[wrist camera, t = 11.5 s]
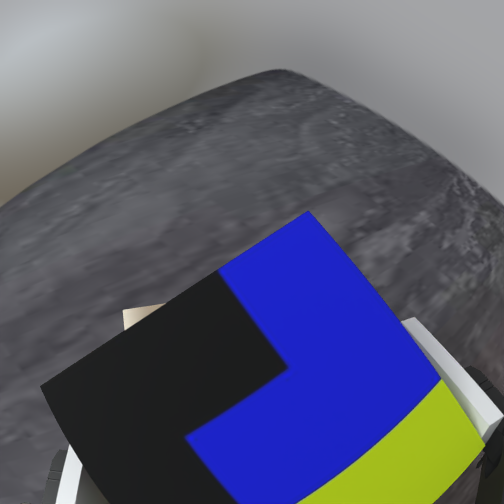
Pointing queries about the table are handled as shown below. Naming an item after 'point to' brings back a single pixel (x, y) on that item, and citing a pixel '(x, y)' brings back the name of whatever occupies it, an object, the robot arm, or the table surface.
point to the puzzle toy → (266, 391)
